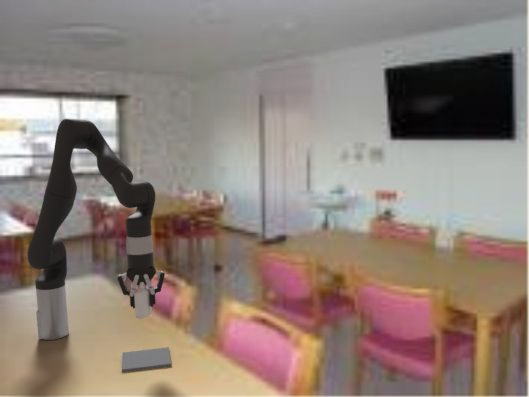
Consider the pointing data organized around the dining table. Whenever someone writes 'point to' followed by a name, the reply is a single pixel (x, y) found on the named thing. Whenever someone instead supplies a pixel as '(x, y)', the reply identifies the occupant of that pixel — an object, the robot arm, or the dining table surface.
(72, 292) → the dining table surface
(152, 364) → the slate mat
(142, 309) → the eye dropper bottle
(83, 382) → the dining table surface
